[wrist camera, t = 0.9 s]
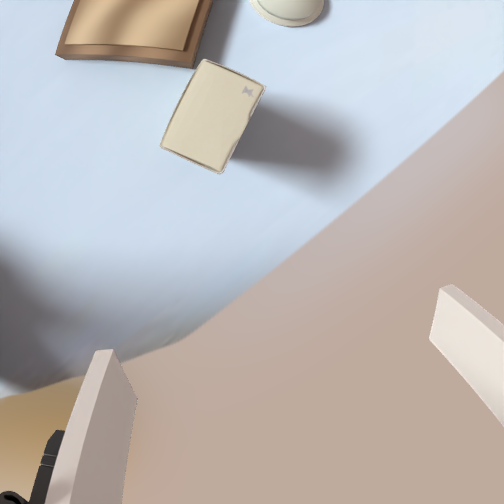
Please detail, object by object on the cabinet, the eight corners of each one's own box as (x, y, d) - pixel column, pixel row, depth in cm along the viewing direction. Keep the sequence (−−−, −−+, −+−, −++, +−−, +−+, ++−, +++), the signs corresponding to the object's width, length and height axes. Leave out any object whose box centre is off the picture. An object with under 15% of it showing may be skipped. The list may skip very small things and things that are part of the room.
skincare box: (205, 84, 26) (204, 51, 15) (246, 102, 27) (271, 81, 16) (176, 143, 28) (155, 147, 17) (216, 160, 29) (222, 176, 18)
